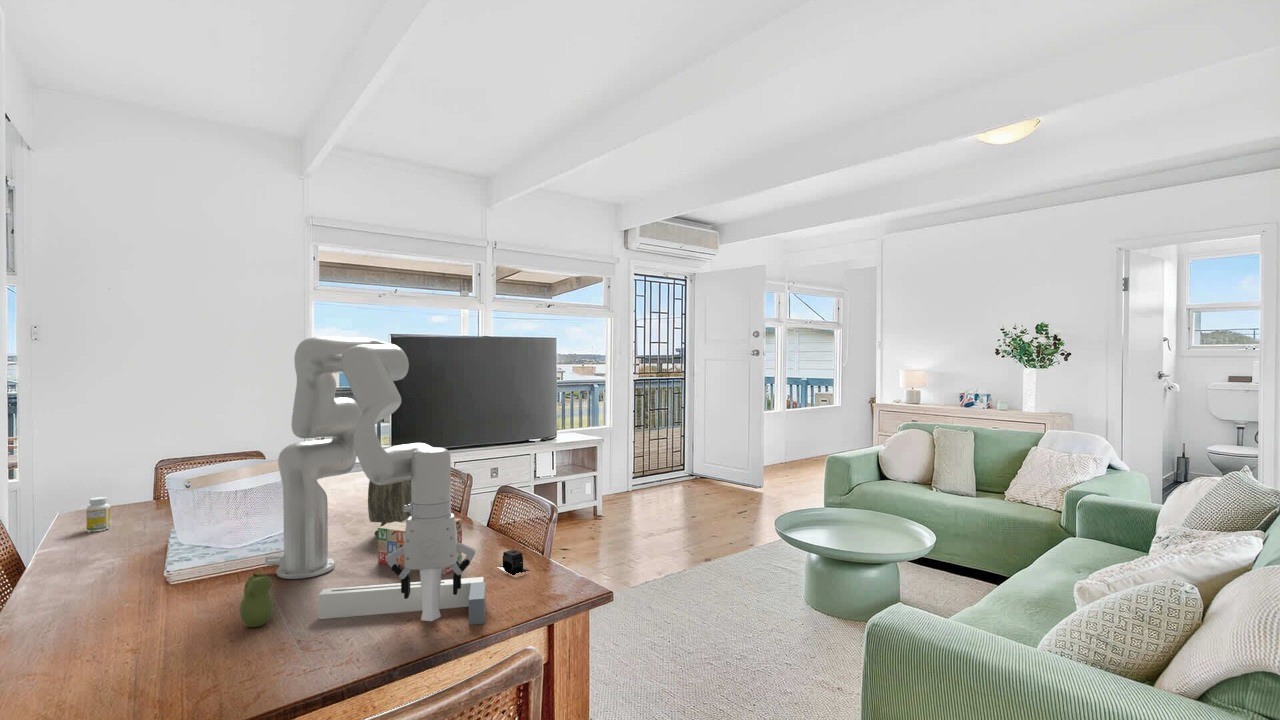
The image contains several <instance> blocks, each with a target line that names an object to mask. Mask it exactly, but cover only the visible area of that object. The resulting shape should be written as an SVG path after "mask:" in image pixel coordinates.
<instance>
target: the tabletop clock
mask: <svg viewBox="0 0 1280 720" xmlns="http://www.w3.org/2000/svg"><path fill="white" fill-rule="evenodd" d="M368 481H369V482H368V491H367V509H368V510H367V512H368V519H369V522H370V523H381V524H380V526H379V527H381V526H384V525H387V524H389V523H392V522H402V523H403V522H404V521H406V520H407V519H408V518H409V517H410V516H411V514H410V512H404V505H408V504H410V503H411V502H412V501H411V499H412V496H411V480H408V481H402V482H397V483H393V484H388V485H377V484H374V483H373V482H371V481H370V480H368ZM373 534H374V536H376V537H378V529H377V530H375V532H374V533H373Z"/></svg>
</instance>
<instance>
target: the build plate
mask: <svg viewBox="0 0 1280 720" xmlns="http://www.w3.org/2000/svg"><path fill="white" fill-rule="evenodd" d="M502 564H503V566H500V567H497V568H499V569H501V570H503V571H505V572H508V573H510V574H512V575H515V574H516V573H519V572H521V573H522V572H526V571H530V570H531V569H530V570H528V569H529V568H527V569H525V568H526V567H525V568H523V567H524V557H523V552H521V551H518V550H515V549H510V550H506V551H504V552H503V553H502Z"/></svg>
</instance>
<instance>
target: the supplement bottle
mask: <svg viewBox="0 0 1280 720" xmlns="http://www.w3.org/2000/svg"><path fill="white" fill-rule="evenodd" d="M107 502H108V497H107V496H97V497H92V498H91V497H90V498H89V504H90V505H88V506H87V507H86V531H87V530H88V531H97V530H104V529H107V528H109V527H110V528H111V504H109V503H107ZM110 528H109V529H110ZM88 531H87V532H88Z"/></svg>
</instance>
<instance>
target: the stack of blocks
mask: <svg viewBox="0 0 1280 720" xmlns="http://www.w3.org/2000/svg"><path fill="white" fill-rule="evenodd" d="M405 521H406V522H403V521H402V522H392V523H386V524H385V525H384V526H381V525H380V526H381V527H380V526H379V527H377V530H378V536H377V541H378V542H377V552H378V556H377V557H378V558H377V560H378V561H377V563H378V564H384V565H388V566H389V564H388V562H387V561H386V557H387V556H388V555H389V554H391V553H392V552H394V551H396V550H398V549H399V548H401V547H403V546H404V539H405V529H406V523H407V519H406V520H405ZM455 522H456V529H457V541H458V542H460V543H462V542H463V518H459V517H458V518H457V517H455ZM462 544H463V543H462ZM462 558H463V556H462V552H460V551H458V554H457V560H458V561H459V563H461V562H462V561H463V559H462ZM396 561H397V563H398V564H400V565H401V566H402V567H403V568H404V554H403V555H401V556H400V557H398V558H396ZM451 572H454V571H453V570H452V569H451V567H447V568H442V573H441V575H447V574H449V573H451Z"/></svg>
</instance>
